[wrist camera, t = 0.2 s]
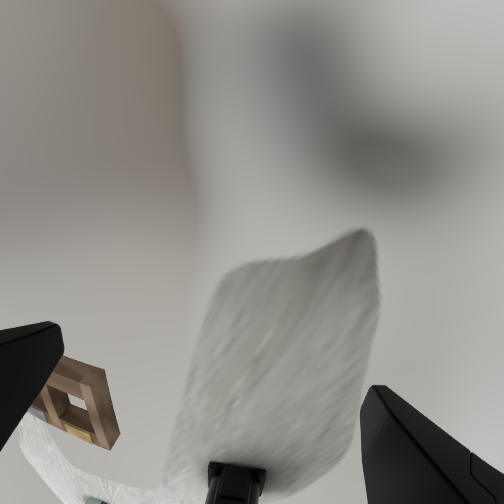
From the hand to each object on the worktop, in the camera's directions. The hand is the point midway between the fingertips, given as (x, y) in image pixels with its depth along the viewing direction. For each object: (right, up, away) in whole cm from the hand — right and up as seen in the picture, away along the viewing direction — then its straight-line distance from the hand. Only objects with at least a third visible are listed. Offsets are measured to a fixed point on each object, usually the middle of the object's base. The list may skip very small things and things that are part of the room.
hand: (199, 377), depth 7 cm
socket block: (-21, -12, +20) cm, 32 cm away
